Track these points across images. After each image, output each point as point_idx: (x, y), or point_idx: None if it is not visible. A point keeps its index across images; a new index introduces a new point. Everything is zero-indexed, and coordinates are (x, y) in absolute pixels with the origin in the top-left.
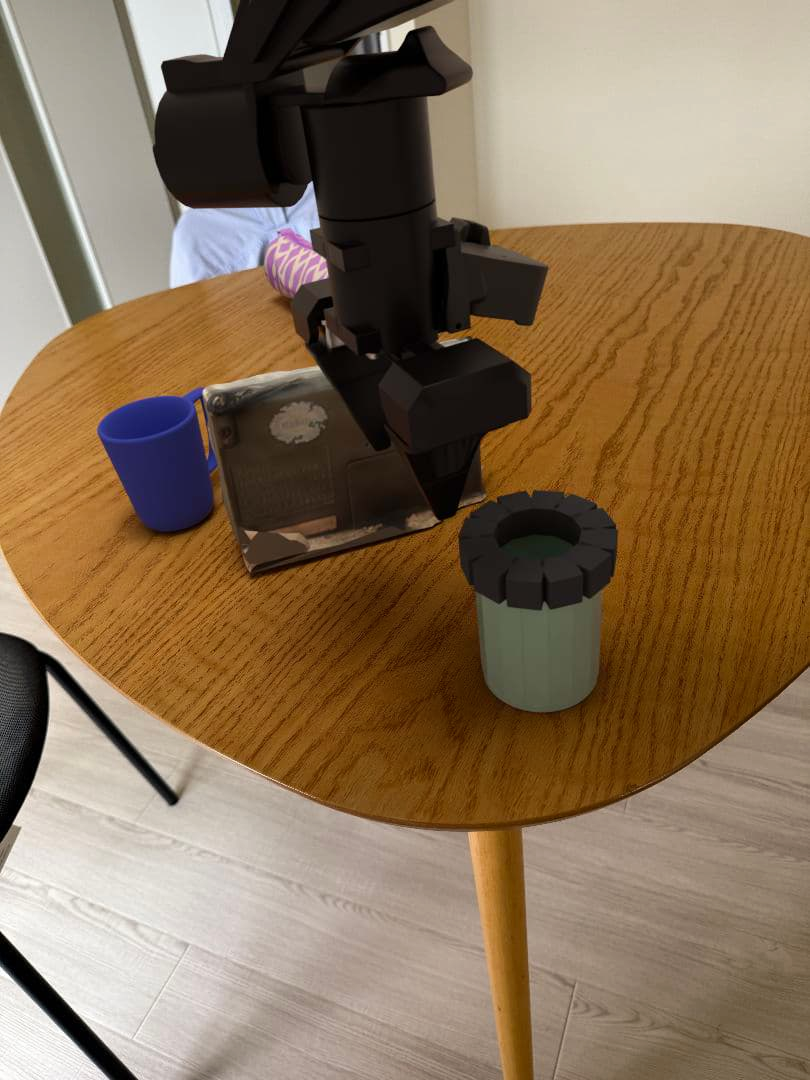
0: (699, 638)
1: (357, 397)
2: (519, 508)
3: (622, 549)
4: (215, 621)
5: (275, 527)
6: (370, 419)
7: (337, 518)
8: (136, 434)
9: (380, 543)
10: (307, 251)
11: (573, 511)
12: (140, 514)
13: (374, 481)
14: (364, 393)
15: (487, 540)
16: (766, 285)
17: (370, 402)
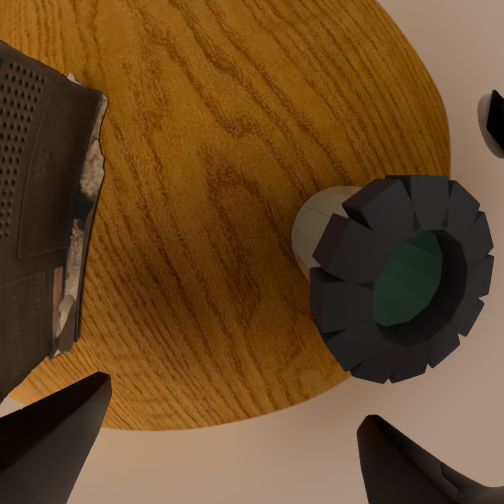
0: (400, 119)
1: (64, 484)
2: (377, 268)
3: (277, 56)
4: (112, 378)
5: (50, 324)
6: (85, 441)
7: (57, 266)
8: None
9: (91, 229)
10: None
11: (437, 216)
12: None
13: (39, 223)
14: (57, 479)
15: (384, 350)
16: None
17: (65, 459)
